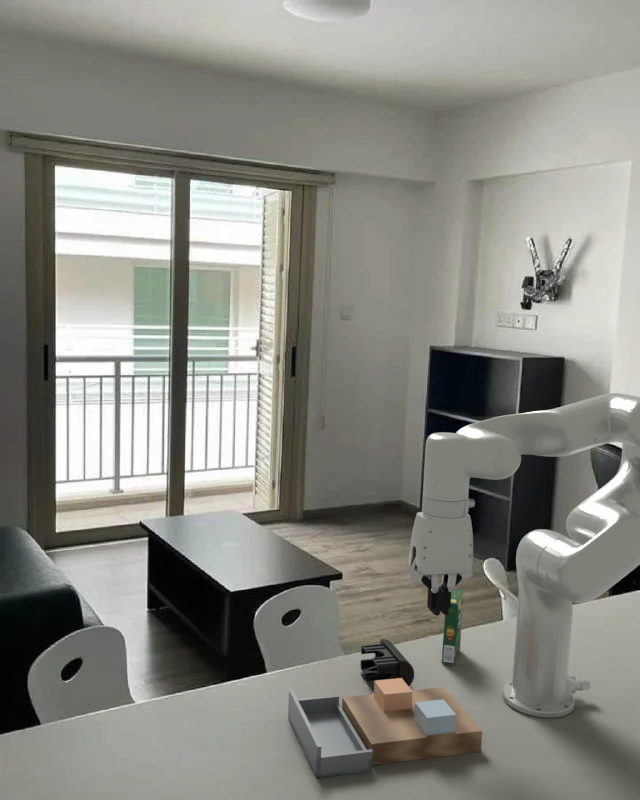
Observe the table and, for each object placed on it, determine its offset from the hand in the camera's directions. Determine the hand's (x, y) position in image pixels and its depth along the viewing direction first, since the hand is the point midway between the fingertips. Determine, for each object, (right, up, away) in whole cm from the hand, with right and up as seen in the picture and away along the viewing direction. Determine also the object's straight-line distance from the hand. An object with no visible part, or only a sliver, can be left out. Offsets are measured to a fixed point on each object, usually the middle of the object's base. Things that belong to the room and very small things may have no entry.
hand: (438, 611), depth 139 cm
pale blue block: (-2, -17, -7) cm, 18 cm away
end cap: (-8, -17, +14) cm, 24 cm away
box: (-19, -19, -7) cm, 28 cm away
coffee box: (+6, -16, +27) cm, 32 cm away
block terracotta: (-8, -15, 0) cm, 17 cm away
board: (-5, -19, -3) cm, 20 cm away
